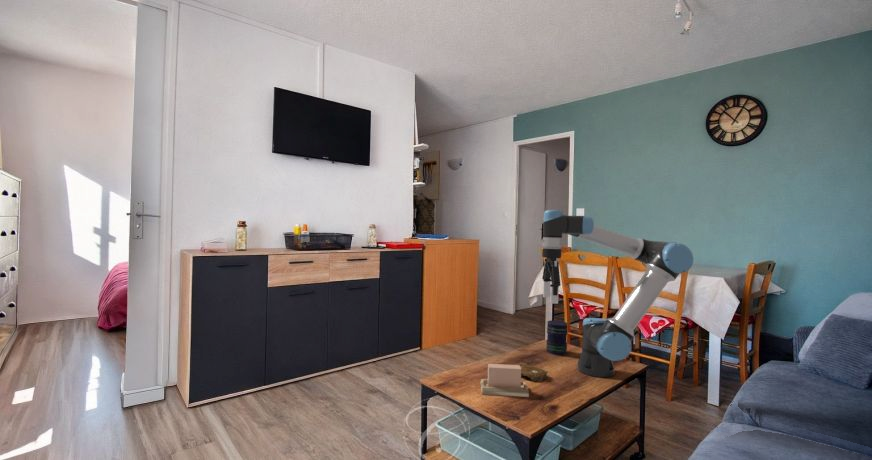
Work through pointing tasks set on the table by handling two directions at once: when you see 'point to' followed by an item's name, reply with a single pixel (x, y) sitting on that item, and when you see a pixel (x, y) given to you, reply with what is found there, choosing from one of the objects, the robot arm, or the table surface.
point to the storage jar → (556, 337)
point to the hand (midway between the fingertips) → (550, 300)
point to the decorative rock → (532, 372)
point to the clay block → (504, 376)
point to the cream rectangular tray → (504, 390)
